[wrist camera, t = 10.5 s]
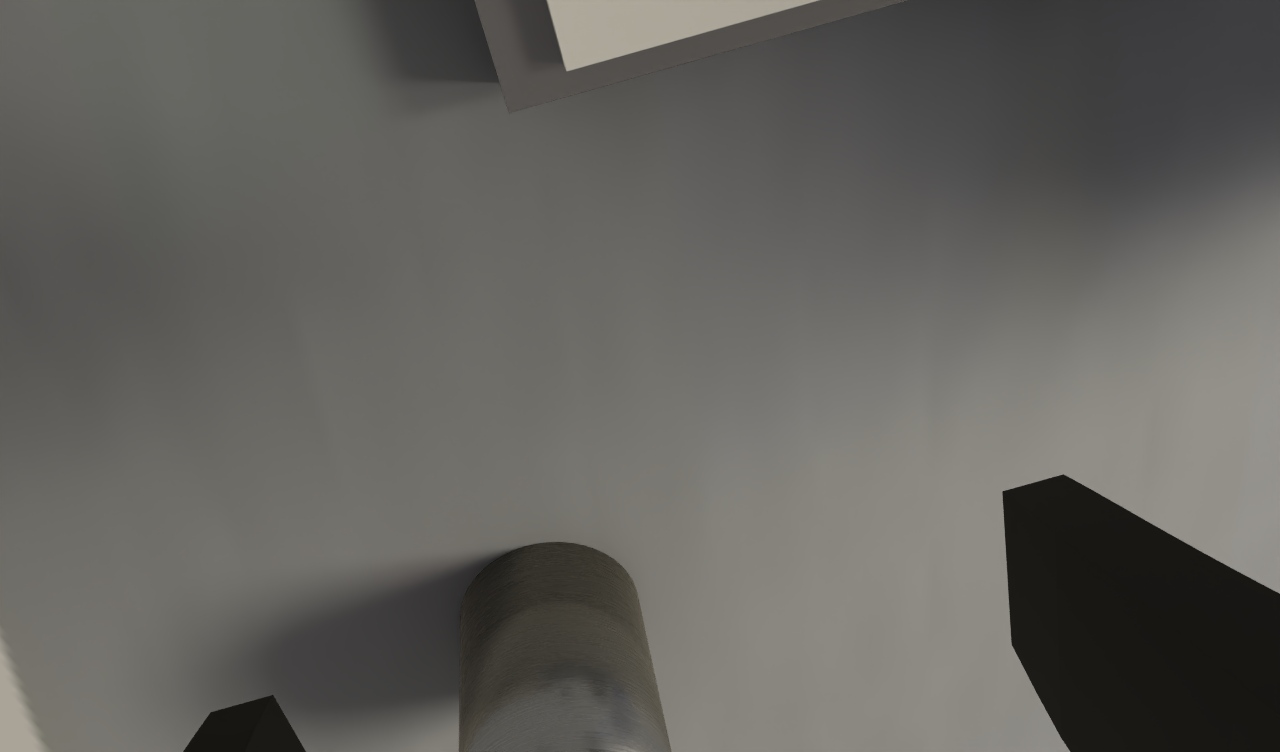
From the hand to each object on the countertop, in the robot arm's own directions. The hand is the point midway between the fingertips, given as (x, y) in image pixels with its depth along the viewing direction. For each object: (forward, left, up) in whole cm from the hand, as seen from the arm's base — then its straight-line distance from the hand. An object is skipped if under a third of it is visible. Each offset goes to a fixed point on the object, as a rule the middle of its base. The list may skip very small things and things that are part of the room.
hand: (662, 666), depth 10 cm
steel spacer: (+3, +8, -10) cm, 14 cm away
